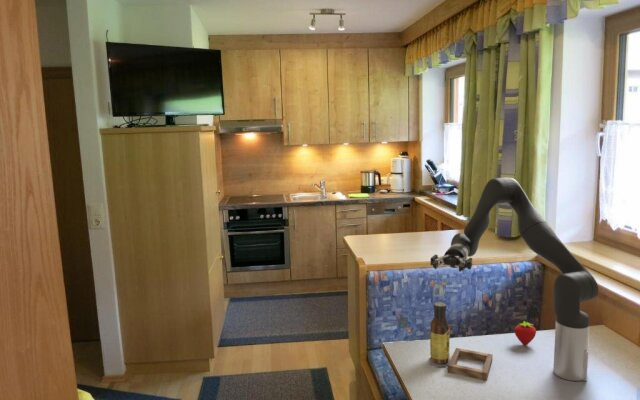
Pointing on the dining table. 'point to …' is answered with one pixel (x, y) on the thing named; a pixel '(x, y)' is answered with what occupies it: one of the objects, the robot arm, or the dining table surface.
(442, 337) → the sauce bottle
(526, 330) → the strawberry
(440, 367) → the coaster
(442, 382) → the dining table surface
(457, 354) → the pocket frame
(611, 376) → the dining table surface
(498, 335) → the dining table surface
